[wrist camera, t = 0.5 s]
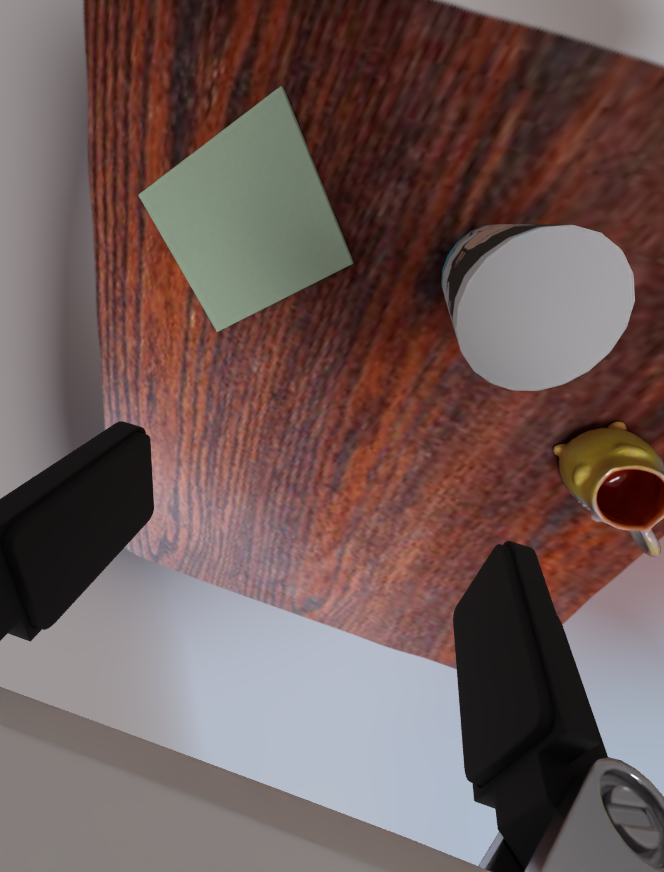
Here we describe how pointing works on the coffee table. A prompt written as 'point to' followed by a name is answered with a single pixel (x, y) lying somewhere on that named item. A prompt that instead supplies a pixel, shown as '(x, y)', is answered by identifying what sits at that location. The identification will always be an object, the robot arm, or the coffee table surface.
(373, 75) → the coffee table surface
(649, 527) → the mug
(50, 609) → the robot arm
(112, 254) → the coffee table surface
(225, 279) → the mat
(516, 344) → the cup
